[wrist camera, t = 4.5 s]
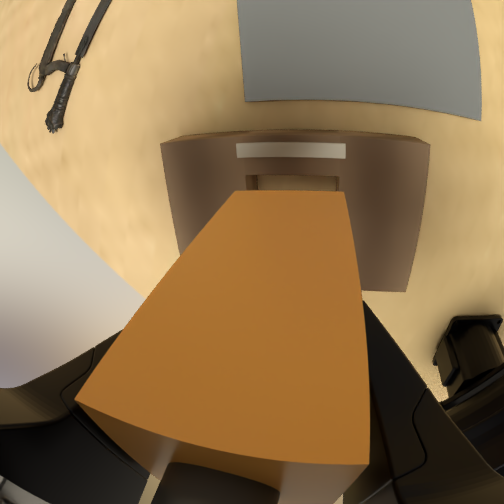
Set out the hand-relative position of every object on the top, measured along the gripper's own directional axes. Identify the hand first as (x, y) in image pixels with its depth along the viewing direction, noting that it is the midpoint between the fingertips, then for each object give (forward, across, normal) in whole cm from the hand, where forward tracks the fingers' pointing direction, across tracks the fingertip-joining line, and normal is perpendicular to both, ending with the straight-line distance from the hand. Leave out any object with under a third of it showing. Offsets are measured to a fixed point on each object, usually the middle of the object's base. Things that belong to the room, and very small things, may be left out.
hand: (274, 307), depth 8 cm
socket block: (+13, +1, +2) cm, 13 cm away
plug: (+4, 0, 0) cm, 4 cm away
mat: (+13, -5, -11) cm, 18 cm away
